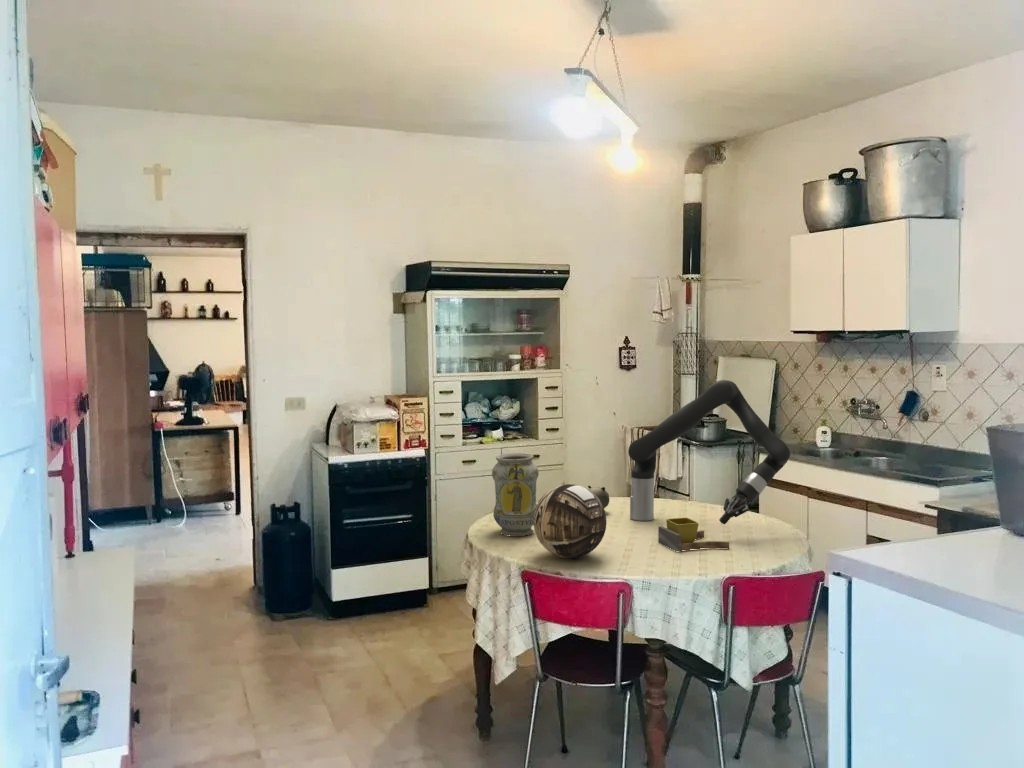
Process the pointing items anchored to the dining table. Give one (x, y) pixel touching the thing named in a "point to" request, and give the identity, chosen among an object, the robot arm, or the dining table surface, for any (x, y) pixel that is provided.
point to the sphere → (569, 521)
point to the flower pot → (683, 528)
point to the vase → (515, 493)
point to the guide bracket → (674, 542)
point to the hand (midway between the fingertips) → (721, 522)
